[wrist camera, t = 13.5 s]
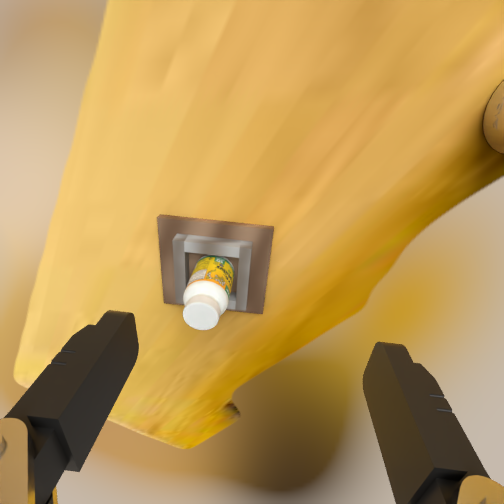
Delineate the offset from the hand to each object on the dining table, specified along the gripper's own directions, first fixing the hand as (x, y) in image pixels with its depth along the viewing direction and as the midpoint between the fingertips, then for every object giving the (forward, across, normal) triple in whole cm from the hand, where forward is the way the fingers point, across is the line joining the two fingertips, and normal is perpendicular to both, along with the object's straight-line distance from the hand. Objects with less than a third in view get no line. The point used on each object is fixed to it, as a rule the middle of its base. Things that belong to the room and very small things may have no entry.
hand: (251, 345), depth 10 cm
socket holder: (+28, +6, +15) cm, 32 cm away
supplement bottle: (+27, +6, +15) cm, 32 cm away
